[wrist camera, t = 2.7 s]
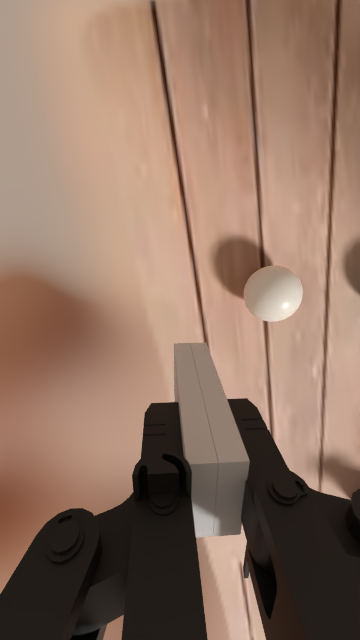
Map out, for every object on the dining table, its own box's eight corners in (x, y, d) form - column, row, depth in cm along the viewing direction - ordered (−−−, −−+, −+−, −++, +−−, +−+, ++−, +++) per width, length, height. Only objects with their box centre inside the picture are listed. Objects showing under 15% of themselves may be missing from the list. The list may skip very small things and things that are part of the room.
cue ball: (290, 261, 28) (319, 270, 23) (283, 310, 30) (308, 329, 24) (239, 261, 27) (257, 271, 22) (235, 311, 29) (250, 330, 24)
